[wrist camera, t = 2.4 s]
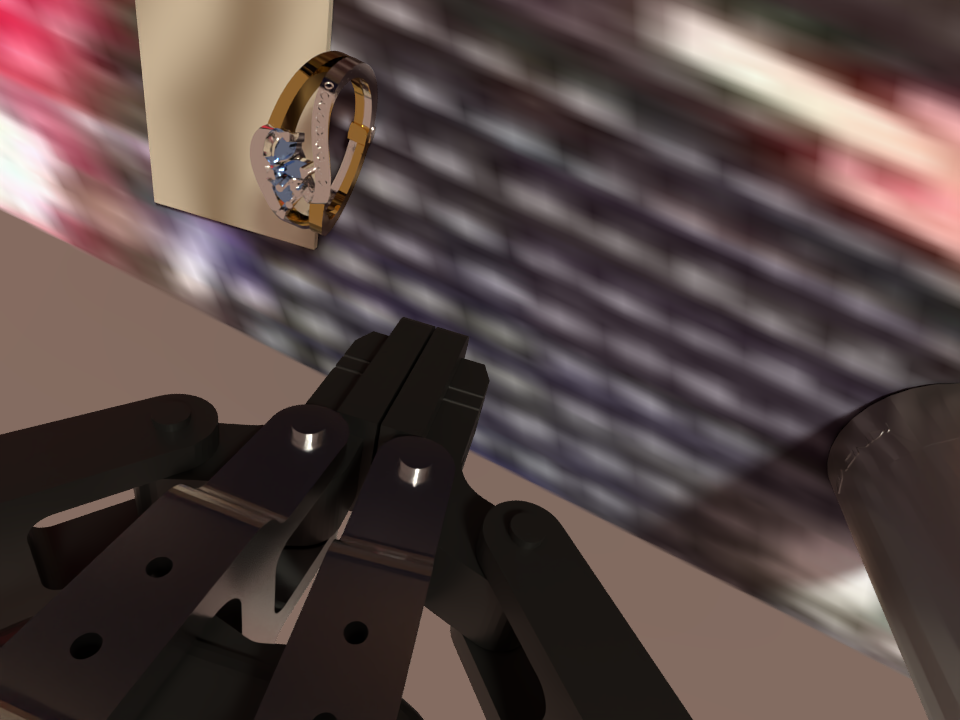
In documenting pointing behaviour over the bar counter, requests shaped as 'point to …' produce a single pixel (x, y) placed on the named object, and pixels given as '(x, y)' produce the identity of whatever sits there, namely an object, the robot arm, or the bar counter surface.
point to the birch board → (224, 100)
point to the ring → (314, 142)
